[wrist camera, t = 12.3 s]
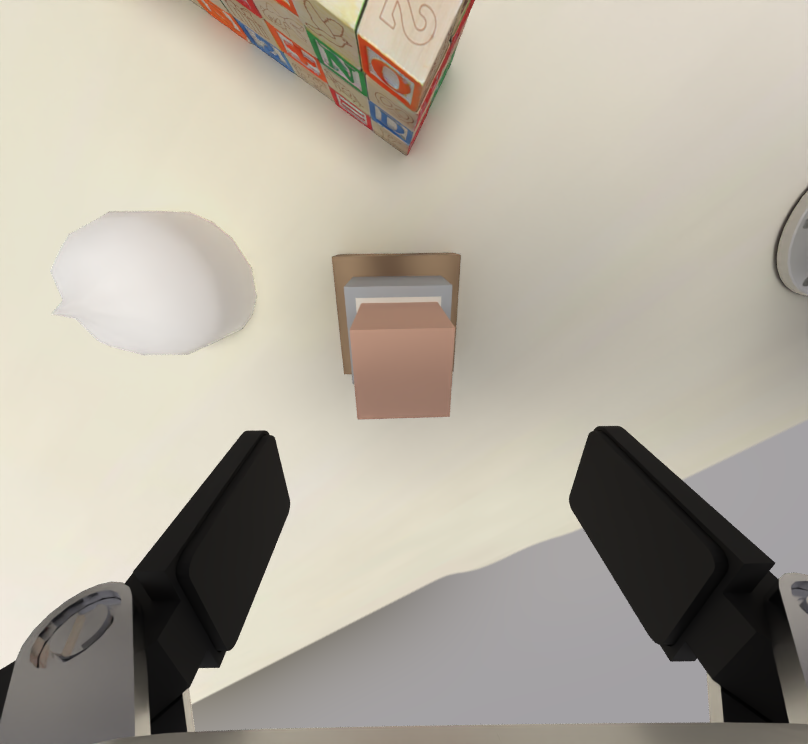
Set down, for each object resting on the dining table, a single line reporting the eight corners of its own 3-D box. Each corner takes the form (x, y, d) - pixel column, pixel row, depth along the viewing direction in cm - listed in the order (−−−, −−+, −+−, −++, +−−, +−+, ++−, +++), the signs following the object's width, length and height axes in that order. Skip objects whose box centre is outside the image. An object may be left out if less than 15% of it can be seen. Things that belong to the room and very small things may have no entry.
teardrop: (94, 226, 24) (-150, 219, 13) (223, 195, 24) (79, 162, 13) (166, 351, 29) (30, 422, 18) (276, 327, 28) (204, 385, 17)
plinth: (453, 252, 26) (460, 254, 23) (447, 359, 30) (453, 371, 27) (338, 254, 26) (331, 256, 23) (348, 361, 30) (344, 374, 27)
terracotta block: (437, 301, 20) (455, 327, 14) (435, 370, 22) (449, 416, 16) (361, 303, 19) (349, 330, 14) (366, 372, 22) (357, 419, 16)
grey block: (440, 275, 24) (452, 285, 19) (437, 356, 27) (447, 382, 22) (353, 276, 24) (343, 287, 19) (359, 358, 27) (352, 384, 22)
